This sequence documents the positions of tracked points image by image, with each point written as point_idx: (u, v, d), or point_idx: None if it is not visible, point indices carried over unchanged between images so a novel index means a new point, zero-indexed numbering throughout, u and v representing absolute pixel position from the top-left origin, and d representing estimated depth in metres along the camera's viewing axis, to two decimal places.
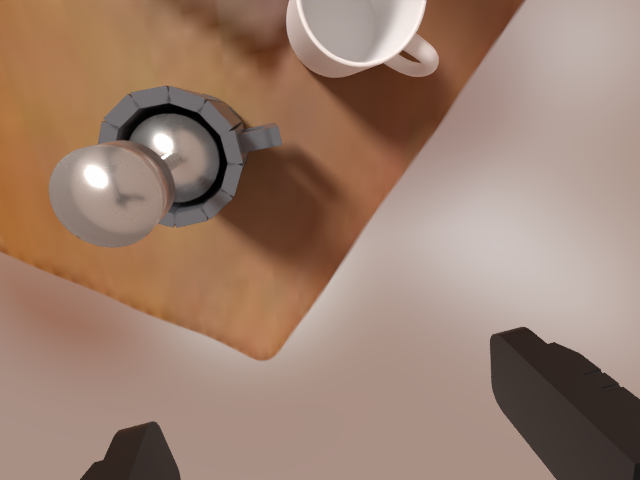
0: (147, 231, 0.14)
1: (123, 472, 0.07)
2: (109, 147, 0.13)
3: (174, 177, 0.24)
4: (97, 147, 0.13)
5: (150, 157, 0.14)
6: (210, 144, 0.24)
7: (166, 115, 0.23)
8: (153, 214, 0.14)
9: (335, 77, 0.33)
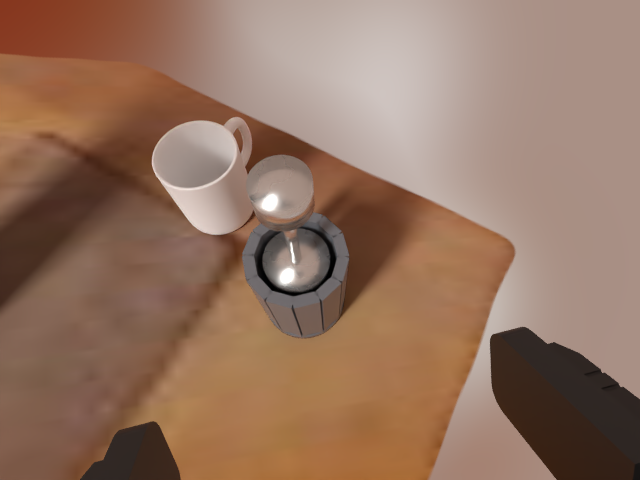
0: (301, 162, 0.21)
1: (123, 472, 0.07)
2: (247, 178, 0.21)
3: (310, 259, 0.30)
4: (247, 183, 0.20)
5: None
6: None
7: (263, 261, 0.30)
8: (290, 158, 0.21)
9: None
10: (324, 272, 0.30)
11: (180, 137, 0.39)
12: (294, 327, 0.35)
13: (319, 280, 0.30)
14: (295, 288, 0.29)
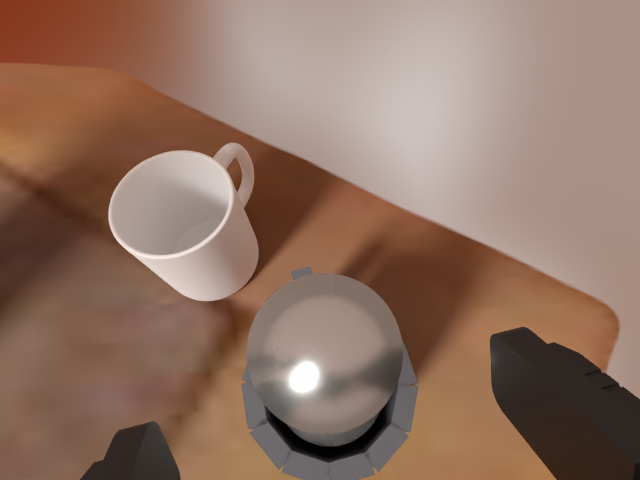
0: (372, 293, 0.09)
1: (123, 472, 0.07)
2: (249, 334, 0.09)
3: None
4: (249, 350, 0.09)
5: None
6: None
7: None
8: (345, 283, 0.09)
9: (257, 250, 0.33)
10: None
11: (153, 174, 0.28)
12: None
13: (369, 425, 0.18)
14: (330, 441, 0.18)
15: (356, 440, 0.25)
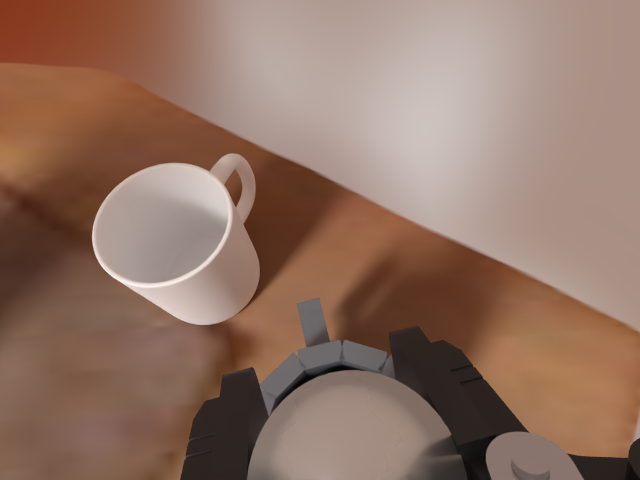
0: (421, 402, 0.07)
1: (242, 403, 0.08)
2: (250, 464, 0.06)
3: None
4: None
5: None
6: None
7: None
8: (383, 385, 0.07)
9: (258, 268, 0.30)
10: None
11: (143, 188, 0.25)
12: None
13: None
14: None
15: None
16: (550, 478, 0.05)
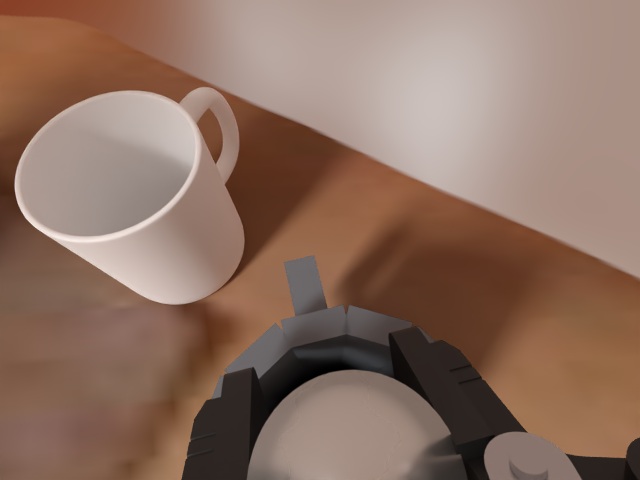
0: (421, 402, 0.07)
1: (243, 402, 0.08)
2: (250, 464, 0.06)
3: None
4: None
5: None
6: None
7: None
8: (383, 385, 0.07)
9: (242, 237, 0.25)
10: None
11: (91, 125, 0.20)
12: None
13: None
14: None
15: None
16: (548, 478, 0.05)
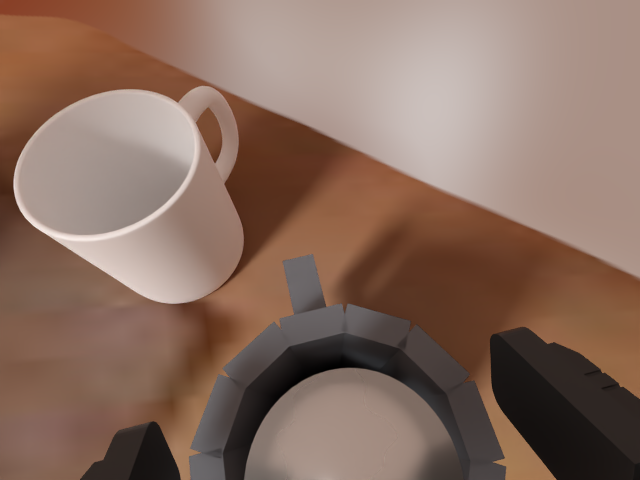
0: (418, 399, 0.07)
1: (123, 472, 0.07)
2: (248, 461, 0.06)
3: None
4: None
5: None
6: None
7: None
8: (380, 382, 0.07)
9: (242, 236, 0.25)
10: None
11: (90, 124, 0.20)
12: None
13: None
14: None
15: None
16: None
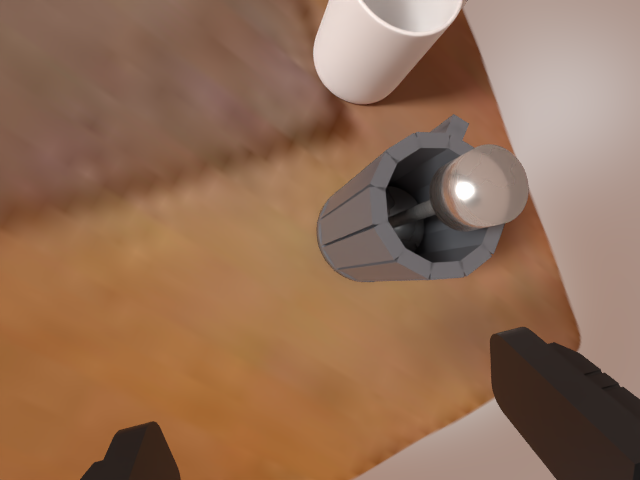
0: (526, 181, 0.17)
1: (123, 472, 0.07)
2: (469, 152, 0.17)
3: (401, 233, 0.28)
4: (465, 158, 0.17)
5: None
6: (398, 191, 0.28)
7: None
8: (519, 167, 0.17)
9: None
10: None
11: None
12: (347, 261, 0.27)
13: None
14: None
15: None
16: None
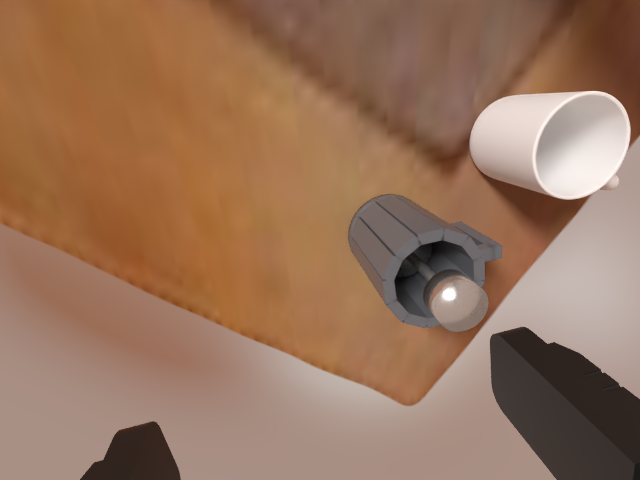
0: (477, 323, 0.26)
1: (123, 472, 0.07)
2: (471, 284, 0.25)
3: (402, 261, 0.36)
4: (466, 284, 0.25)
5: (473, 281, 0.26)
6: None
7: None
8: (482, 314, 0.26)
9: None
10: None
11: (610, 118, 0.31)
12: (361, 243, 0.35)
13: None
14: None
15: None
16: None
